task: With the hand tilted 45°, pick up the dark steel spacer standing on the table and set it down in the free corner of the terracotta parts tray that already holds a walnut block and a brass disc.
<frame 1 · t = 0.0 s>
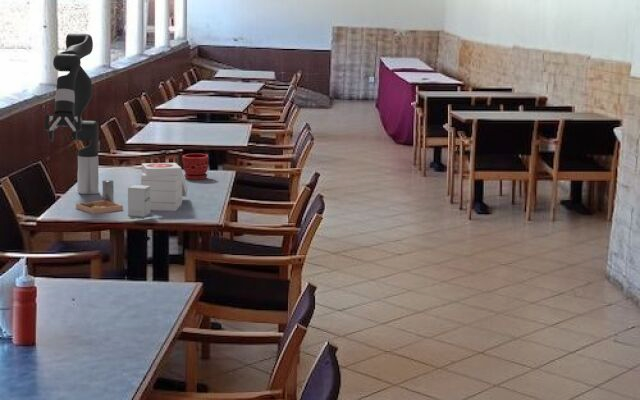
hand: (62, 141, 403), 31 cm above the table, tool tilted 20°, fingers open, 8 cm apart
tray: (99, 211, 424), on the table
spacer: (108, 206, 436), on the table
walnut block: (87, 209, 423), point 1 cm above the table, touching tray
pizza boxes: (163, 204, 444), on the table
plant pot: (195, 178, 511), on the table
brass disc: (96, 211, 419), point 1 cm above the table, touching tray
supplement box: (139, 217, 417), on the table
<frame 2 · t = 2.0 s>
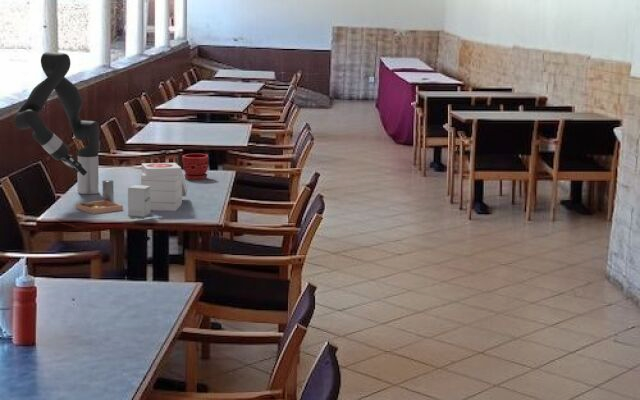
hand: (81, 172, 427), 15 cm above the table, tool tilted 45°, fingers open, 8 cm apart
nothing on the table moved.
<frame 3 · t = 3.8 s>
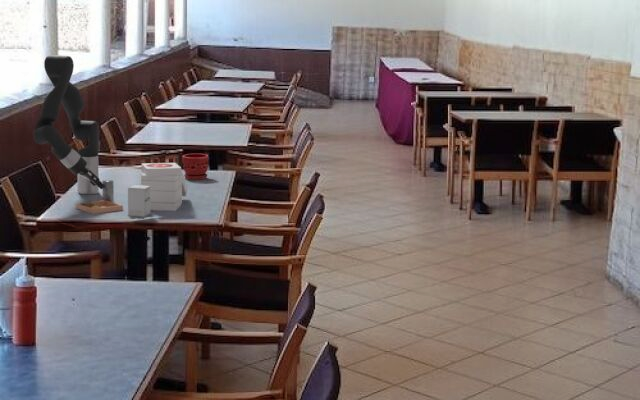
hand: (99, 185, 432), 9 cm above the table, tool tilted 45°, fingers open, 8 cm apart
nothing on the table moved.
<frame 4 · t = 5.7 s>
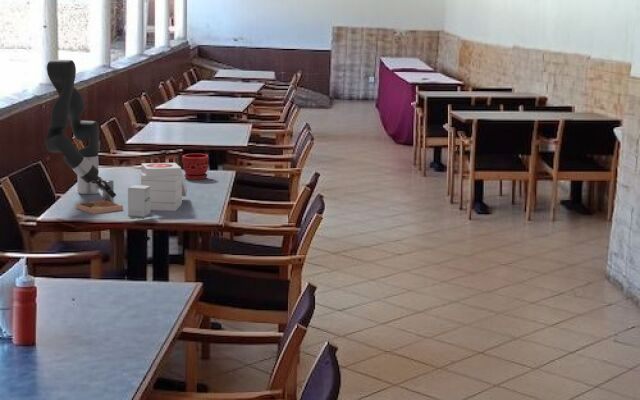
hand: (112, 195, 436), 5 cm above the table, tool tilted 45°, fingers closed on spacer, 4 cm apart
spacer: (108, 206, 436), on the table, touching gripper
everything else where it was.
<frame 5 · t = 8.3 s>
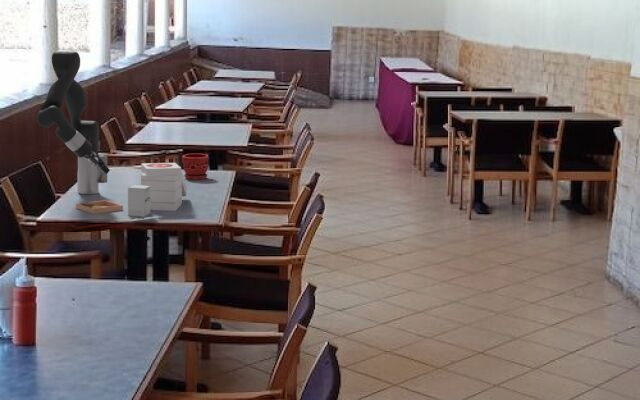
hand: (105, 170, 425), 17 cm above the table, tool tilted 45°, fingers closed on spacer, 4 cm apart
spacer: (101, 181, 425), point 12 cm above the table, touching gripper
everything else where it was.
when the fingers open (6 cm above the table, at t = 11.0 s): spacer stays where it is, resting on tray.
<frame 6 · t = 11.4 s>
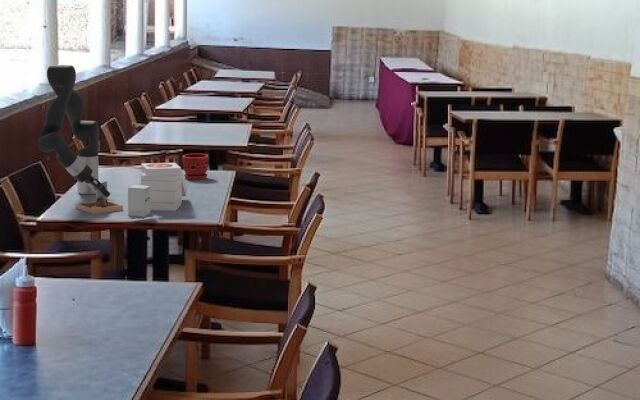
hand: (105, 194, 427), 7 cm above the table, tool tilted 45°, fingers open, 8 cm apart
spacer: (102, 207, 427), point 1 cm above the table, touching tray
everything else where it was.
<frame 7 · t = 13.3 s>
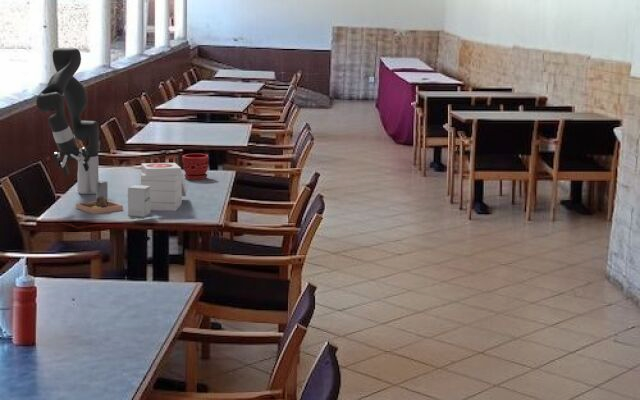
hand: (77, 172, 420), 17 cm above the table, tool tilted 25°, fingers open, 8 cm apart
nothing on the table moved.
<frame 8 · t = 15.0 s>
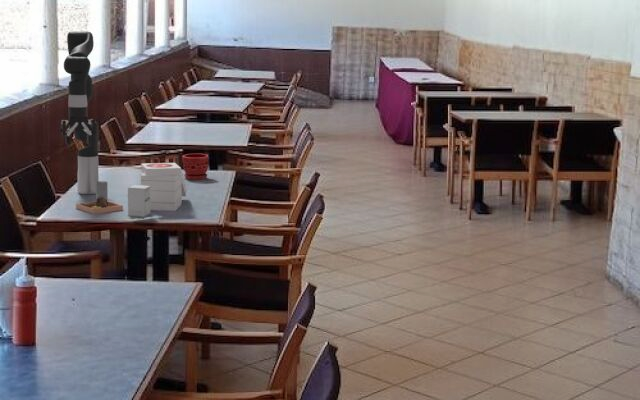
hand: (78, 144, 419), 28 cm above the table, tool pointing down, fingers open, 8 cm apart
nothing on the table moved.
at the end: spacer inside the target area on the tray (3.1 cm from its centre), point 1.0 cm above the tray's base; spacer tilted 0°; the gripper is holding nothing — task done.
